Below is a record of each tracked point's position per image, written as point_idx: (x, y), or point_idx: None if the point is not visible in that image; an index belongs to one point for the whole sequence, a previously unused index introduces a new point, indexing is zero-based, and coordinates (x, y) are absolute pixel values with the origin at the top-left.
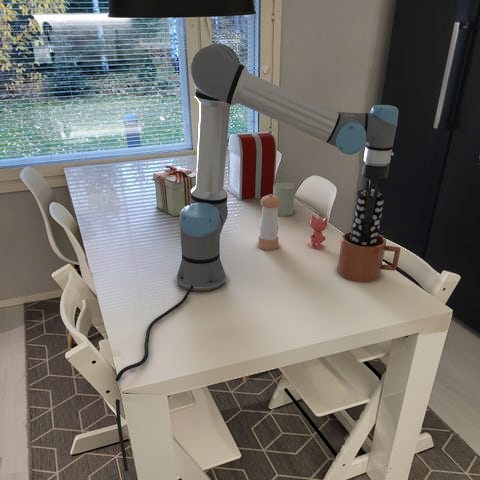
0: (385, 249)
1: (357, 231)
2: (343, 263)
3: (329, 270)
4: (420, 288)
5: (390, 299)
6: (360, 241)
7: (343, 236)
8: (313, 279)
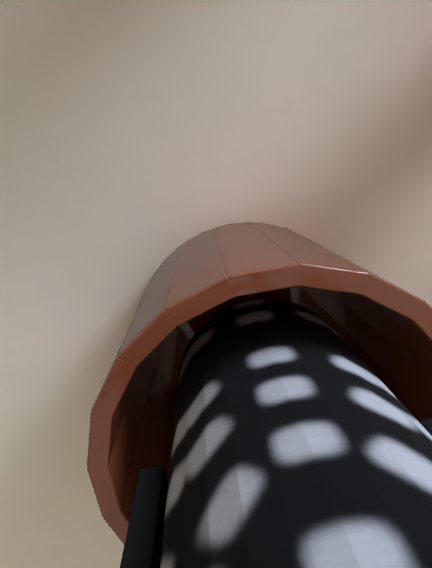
0: None
1: (175, 503)
2: (153, 284)
3: (204, 185)
4: None
5: (53, 491)
6: (139, 479)
7: (259, 286)
8: (49, 128)
